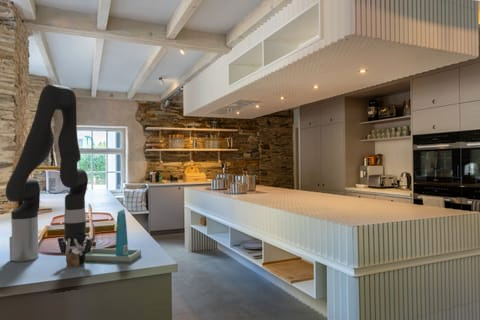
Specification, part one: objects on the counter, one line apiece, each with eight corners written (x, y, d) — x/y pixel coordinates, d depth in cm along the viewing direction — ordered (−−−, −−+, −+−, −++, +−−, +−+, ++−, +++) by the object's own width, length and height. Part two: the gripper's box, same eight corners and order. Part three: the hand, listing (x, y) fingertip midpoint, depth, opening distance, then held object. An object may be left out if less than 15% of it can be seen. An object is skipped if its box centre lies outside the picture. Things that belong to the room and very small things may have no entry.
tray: (78, 261, 138) (78, 254, 138) (92, 253, 147) (92, 248, 147) (130, 263, 134) (130, 257, 134) (141, 255, 144) (141, 249, 144)
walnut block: (66, 267, 130) (66, 254, 130) (74, 263, 135) (73, 250, 135) (77, 267, 130) (77, 254, 130) (84, 263, 134) (84, 251, 134)
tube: (118, 254, 144) (117, 209, 143) (130, 254, 144) (129, 208, 144) (113, 259, 136) (112, 212, 136) (125, 259, 137) (125, 211, 136)
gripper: (51, 221, 129) (52, 266, 130) (86, 222, 127) (87, 268, 128) (64, 218, 137) (65, 260, 137) (97, 218, 135) (98, 261, 135)
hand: (75, 263), depth 132 cm, fingers closed on walnut block, 4 cm apart
